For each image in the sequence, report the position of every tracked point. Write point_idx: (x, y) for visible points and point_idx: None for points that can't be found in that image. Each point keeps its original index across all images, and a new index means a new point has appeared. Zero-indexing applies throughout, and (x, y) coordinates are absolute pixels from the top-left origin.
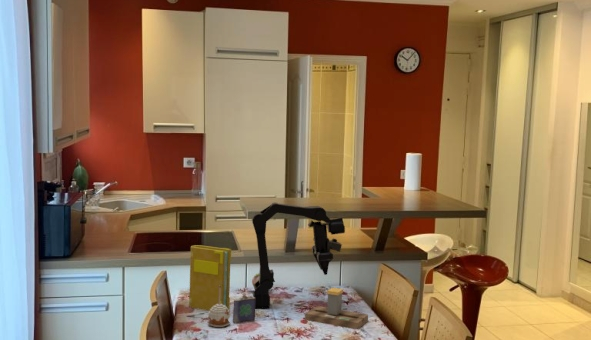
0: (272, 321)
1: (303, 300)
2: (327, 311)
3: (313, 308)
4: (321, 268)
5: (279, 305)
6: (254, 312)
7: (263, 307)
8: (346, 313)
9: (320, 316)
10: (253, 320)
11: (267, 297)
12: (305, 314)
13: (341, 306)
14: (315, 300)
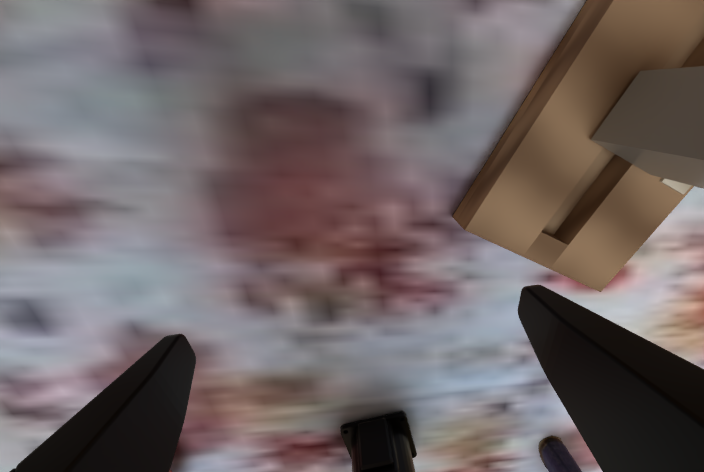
0: None
1: (232, 286)
2: (664, 177)
3: (514, 250)
4: (186, 368)
5: (349, 380)
6: (578, 469)
7: (410, 432)
8: (658, 28)
9: (667, 213)
10: (560, 440)
11: (398, 463)
12: (598, 286)
13: (682, 68)
14: (211, 221)
